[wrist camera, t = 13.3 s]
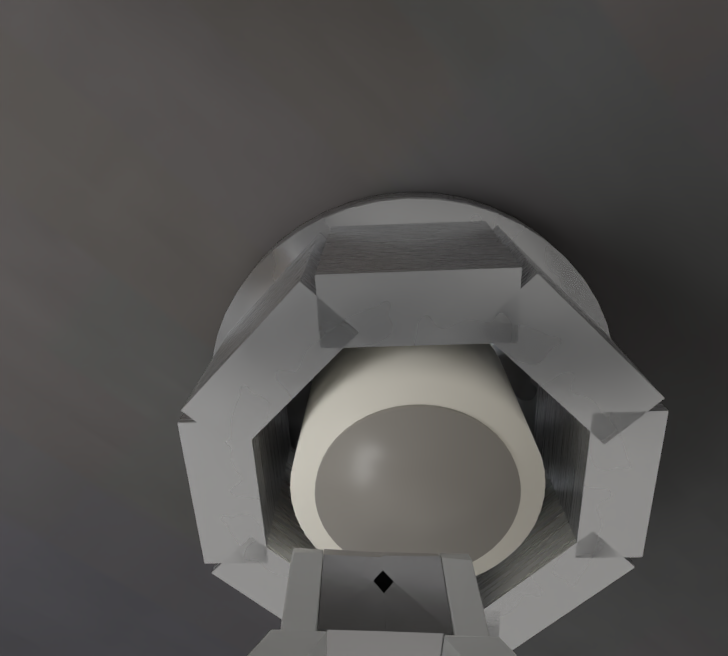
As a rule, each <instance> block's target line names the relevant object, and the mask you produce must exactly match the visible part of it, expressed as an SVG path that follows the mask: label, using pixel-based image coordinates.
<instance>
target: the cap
mask: <svg viewBox="0 0 728 656" xmlns="http://www.w3.org/2000/svg"><path fill="white" fill-rule="evenodd" d="M290 492H291V501H292V505H293V509H294V512H295V515H296V518H297V520H298V522H299V524H300V527H301V528H302V530H303V531H304V533H305V535H306V536H307V538H308V539H309V540H310V541H311V543H312V544H313V545H314V546H315V547H316V549H321V550H324V549H334V550H351V551H367V552H398V553H436V554H438V555H439V553H446V554H468V555H469V556H470V557H471V558H472V563H473V567H474V571H475V575H476V576H477V575H479V574H482V573H484V572H486V571H487V570H489V569H491V568H493V567H494V566H496V565H498V564H499V563H500V562H502V561H503V560H504V559H506V558H507V557H508V556H509V555H511V554H512V553H513V552H514V551H515V550H516V549H517V548H518V547H519V546H520V545H521V543H522V542H523V541H524V540H525V539H526V537H527V536H528V535H529V533H530V531H531V530H532V528H533V527H534V525H535V523H536V521H537V519H538V516H539V514H540V512H541V508H542V504H543V500H544V495H545V470H544V466H543V461H542V457H541V454H540V452H539V450H538V447H537V445H536V442H535V440H534V438H533V435H532V433H531V431H530V428H529V426H528V424H527V421H526V419H525V417H524V414H523V412H522V410H521V407H520V405H519V403H518V400H517V398H516V396H515V393H514V391H513V389H512V386H511V384H510V382H509V379H508V377H507V375H506V372H505V370H504V368H503V366H502V363H501V361H500V359H499V357H498V355H497V354H496V352H495V350H494V349H493V348H492V346H491V345H490V344H456V345H421V346H387V347H353V348H343V349H342V350H341V351H340V352H339V353H338V354H337V355H336V356H335V357H334V358H333V359H332V360H331V361H330V362H329V363H328V364H327V365H326V366H325V367H324V368H323V369H322V370H321V371H320V372H319V373H318V374H317V375H316V376H315V377H314V378H313V381H312V385H311V389H310V393H309V398H308V402H307V406H306V410H305V415H304V419H303V423H302V427H301V432H300V436H299V440H298V445H297V449H296V453H295V457H294V462H293V466H292V471H291V480H290Z"/></svg>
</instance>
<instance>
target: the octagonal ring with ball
mask: <svg viewBox="0 0 728 656" xmlns="http://www.w3.org/2000/svg"><path fill="white" fill-rule="evenodd" d="M456 344H490V345H491V346H492V348H493V349H494V350H495V352H496V354H497V355H498V357H499V359H500V361H501V363H502V366H503V368H504V370H505V372H506V375H507V377H508V379H509V382H510V384H511V386H512V389H513V391H514V393H515V396H516V398H517V400H518V403H519V405H520V407H521V410H522V412H523V414H524V417H525V419H526V421H527V424H528V426H529V428H530V431H531V433H532V435H533V438H534V440H535V442H536V445H537V447H538V450H539V452H540V454H541V457H542V461H543V466H544V470H545V495H544V500H543V504H542V508H541V512H540V514H539V516H538V519H537V521H536V523H535V525H534V527H533V528H532V530H531V531H530V533H529V535H528V536H527V537H526V539H525V540H524V541H523V542H522V543H521V545H520V546H519V547H518V548H517V549H516V550H515V551H514V552H513V553H512V554H511V555H509V556H508V557H507V558H506V559H504V560H503V561H502V562H500V563H499V564H498V565H496V566H494V567H493V568H491V569H489V570H487V571H486V572H484V573H482V574H479V575H477V576H476V579H477V584H478V588H479V592H480V596H481V600H482V605H483V609H484V613H485V617H486V621H487V626H488V630H489V634H490V637H500V638H501V639H502V640H503V641H504V642H505V643H506V645H507V646H508V647H509V648H510V649H511V650H513V649H515V648H516V647H518V646H519V645H521V644H522V643H524V642H525V641H527V640H528V639H530V638H531V637H533V636H534V635H536V634H537V633H538V632H540V631H541V630H543V629H544V628H546V627H547V626H549V625H550V624H552V623H553V622H555V621H556V620H558V619H559V618H561V617H562V616H564V615H565V614H567V613H568V612H570V611H571V610H572V609H574V608H575V607H577V606H578V605H580V604H581V603H583V602H584V601H586V600H587V599H589V598H590V597H592V596H593V595H595V594H596V593H598V592H599V591H601V590H602V589H604V588H605V587H606V586H608V585H609V584H611V583H612V582H614V581H615V580H617V579H618V578H620V577H621V576H623V575H624V574H626V573H627V572H629V571H630V570H632V569H633V568H635V566H634V564H633V562H632V560H631V558H630V557H642V556H643V550H644V545H645V539H646V534H647V528H648V523H649V517H650V512H651V506H652V501H653V495H654V489H655V484H656V478H657V473H658V467H659V462H660V456H661V451H662V445H663V440H664V434H665V428H666V423H667V417H668V412H669V411H668V410H667V408H666V407H665V406H664V405H663V404H662V403H661V401H662V400H663V399H665V398H664V397H663V396H662V395H661V394H660V393H659V391H658V390H657V389H656V388H655V387H654V386H653V385H652V384H651V383H650V382H649V380H648V379H647V378H646V377H645V376H644V375H643V374H642V373H641V372H640V371H639V369H638V368H637V367H636V366H635V365H634V364H633V363H632V362H631V361H630V360H629V358H628V357H627V356H626V355H625V354H624V353H623V352H622V351H621V350H620V349H619V347H618V346H617V345H616V344H615V343H614V342H613V341H612V340H611V337H610V333H609V329H608V325H607V323H606V320H605V318H604V315H603V313H602V311H601V308H600V306H599V304H598V301H597V300H596V298H595V296H594V295H593V293H592V291H591V290H590V288H589V287H588V285H587V283H586V282H585V280H584V279H583V277H582V276H581V275H580V274H579V273H578V272H577V270H576V269H575V268H574V267H573V266H572V265H571V263H570V262H569V261H568V260H567V259H566V258H565V257H564V256H563V255H562V254H561V253H560V252H559V251H558V250H557V249H556V248H554V247H553V246H552V245H551V244H550V243H549V242H548V241H546V240H545V239H544V238H543V237H542V236H541V235H540V234H538V233H537V232H536V231H535V230H533V229H532V228H530V227H528V226H527V225H525V224H524V223H522V222H521V221H519V220H518V219H516V218H514V217H513V216H511V215H508V214H506V213H504V212H502V211H500V210H498V209H495V208H493V207H491V206H489V205H486V204H482V203H479V202H476V201H472V200H469V199H466V198H463V197H457V196H451V195H444V194H438V193H420V192H402V193H393V194H384V195H376V196H372V197H368V198H364V199H360V200H356V201H351V202H348V203H346V204H343V205H341V206H338V207H336V208H333V209H330V210H328V211H325V212H323V213H321V214H320V215H318V216H316V217H314V218H312V219H311V220H309V221H307V222H305V223H303V224H302V225H300V226H299V227H297V228H296V229H295V230H293V231H292V232H291V233H289V234H288V235H287V236H285V237H284V238H283V239H281V240H280V241H279V242H278V243H277V244H276V245H275V246H274V247H273V248H272V249H271V250H270V251H269V252H268V253H267V254H266V255H265V256H264V257H263V258H262V259H261V260H260V261H259V263H258V264H257V265H256V266H255V268H254V269H253V270H252V272H251V273H250V274H249V276H248V277H247V278H246V280H245V281H244V283H243V284H242V286H241V287H240V288H239V290H238V292H237V293H236V295H235V297H234V299H233V301H232V302H231V304H230V306H229V308H228V310H227V311H226V314H225V316H224V319H223V322H222V324H221V327H220V330H219V332H218V335H217V339H216V344H215V348H214V353H213V358H212V360H211V362H210V364H209V365H208V367H207V369H206V370H205V372H204V373H203V375H202V377H201V378H200V380H199V382H198V383H197V385H196V387H195V388H194V390H193V391H192V393H191V395H190V396H189V398H188V400H187V401H186V403H185V405H184V406H183V408H182V409H181V411H182V412H184V413H183V414H182V416H181V418H180V419H179V421H178V429H179V434H180V439H181V444H182V449H183V454H184V460H185V465H186V470H187V475H188V480H189V486H190V491H191V496H192V501H193V506H194V511H195V517H196V522H197V527H198V532H199V537H200V542H201V548H202V553H203V558H204V563H215V564H214V567H213V570H212V574H214V575H215V576H217V577H218V578H220V579H221V580H223V581H224V582H226V583H227V584H229V585H230V586H232V587H233V588H235V589H236V590H238V591H240V592H241V593H243V594H244V595H246V596H247V597H249V598H250V599H252V600H253V601H255V602H256V603H258V604H259V605H261V606H262V607H264V608H265V609H267V610H268V611H270V612H271V613H273V614H274V615H276V616H277V617H279V618H280V619H282V616H283V609H284V603H285V596H286V589H287V582H288V576H289V569H290V562H291V556H292V553H293V550H294V548H306V549H316V547H315V546H314V545H313V544H312V543H311V541H310V540H309V539H308V538H307V536H306V535H305V533H304V531H303V530H302V528H301V527H300V524H299V522H298V520H297V518H296V515H295V512H294V509H293V505H292V501H291V492H290V480H291V471H292V466H293V462H294V457H295V453H296V449H297V445H298V440H299V436H300V432H301V427H302V423H303V419H304V415H305V410H306V406H307V402H308V398H309V393H310V389H311V385H312V381H313V378H314V377H315V376H316V375H317V374H318V373H319V372H320V371H321V370H322V369H323V368H324V367H325V366H326V365H327V364H328V363H329V362H330V361H331V360H332V359H333V358H334V357H335V356H336V355H337V354H338V353H339V352H340V351H341V350H342V349H343V348H353V347H387V346H421V345H456Z"/></svg>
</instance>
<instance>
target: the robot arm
mask: <svg viewBox="0 0 728 656" xmlns="http://www.w3.org/2000/svg"><path fill="white" fill-rule="evenodd" d="M247 656H517V655H516V654H515V653H514V652H513V651H512V650H511V649H510V648H509V647H508V646H507V645H506V643H505V642H504V641H503V640H502V639H501V638H500V637H490V634H489V630H488V626H487V621H486V617H485V613H484V609H483V605H482V600H481V596H480V592H479V588H478V584H477V579H476V575H475V571H474V567H473V563H472V558H471V557H470V556H469V555H468V554H446V553H439V555H438V554H436V553H398V552H367V551H351V550H334V549H324V550H321V549H306V548H294V550H293V553H292V556H291V562H290V569H289V576H288V582H287V589H286V596H285V603H284V609H283V616H282V623H281V629H280V630H270V632H269V633H268V634H267V635H266V636H265V637H264V638H263V639H262V640H261V641H260V642H259V643H258V645H257V646H256V647H255V648H254V649H253V650H252V651H251V652H250V653H249V654H248V655H247Z"/></svg>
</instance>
